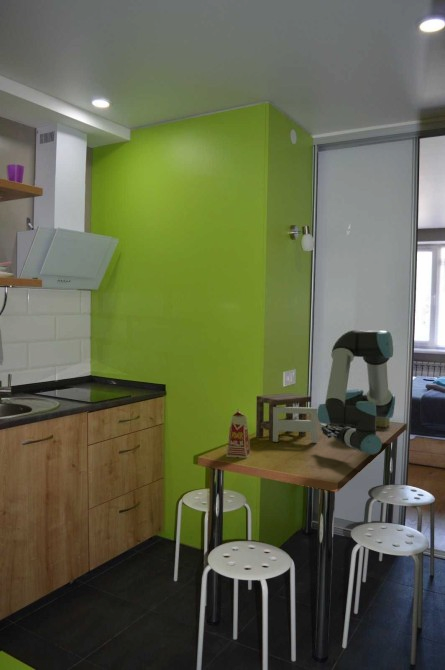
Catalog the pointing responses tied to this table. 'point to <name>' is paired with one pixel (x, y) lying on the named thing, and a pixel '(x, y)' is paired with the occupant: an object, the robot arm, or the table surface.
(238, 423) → the milk carton
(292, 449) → the table surface
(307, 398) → the stool
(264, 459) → the table surface
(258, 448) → the table surface
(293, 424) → the gate leg
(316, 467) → the table surface
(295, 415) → the beer glass
